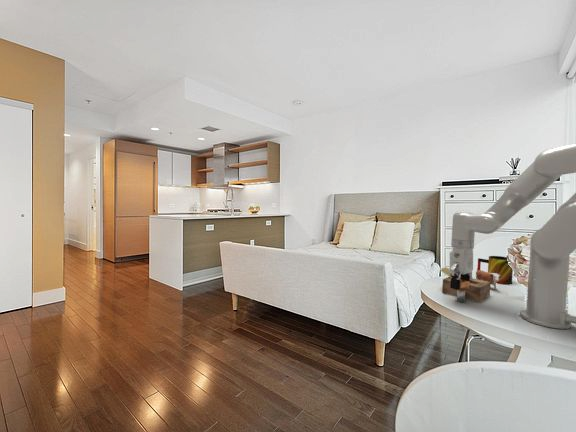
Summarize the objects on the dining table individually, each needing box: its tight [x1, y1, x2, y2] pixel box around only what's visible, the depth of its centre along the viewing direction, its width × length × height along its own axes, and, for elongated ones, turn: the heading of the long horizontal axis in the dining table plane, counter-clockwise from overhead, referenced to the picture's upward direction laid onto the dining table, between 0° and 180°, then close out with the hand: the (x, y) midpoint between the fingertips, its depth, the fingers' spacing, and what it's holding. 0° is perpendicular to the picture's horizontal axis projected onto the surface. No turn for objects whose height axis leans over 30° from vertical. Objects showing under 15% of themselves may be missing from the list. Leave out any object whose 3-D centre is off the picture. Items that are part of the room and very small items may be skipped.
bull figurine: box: [475, 269, 502, 291], centre depth 125 cm, size 4×13×8 cm, turn 2°
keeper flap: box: [440, 266, 458, 277], centre depth 121 cm, size 6×4×1 cm
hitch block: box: [441, 276, 491, 304], centre depth 116 cm, size 14×12×6 cm
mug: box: [476, 255, 514, 286], centre depth 136 cm, size 10×14×12 cm
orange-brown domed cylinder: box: [456, 279, 470, 304], centre depth 108 cm, size 5×5×8 cm
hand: (459, 286), depth 108 cm, fingers open, 9 cm apart
